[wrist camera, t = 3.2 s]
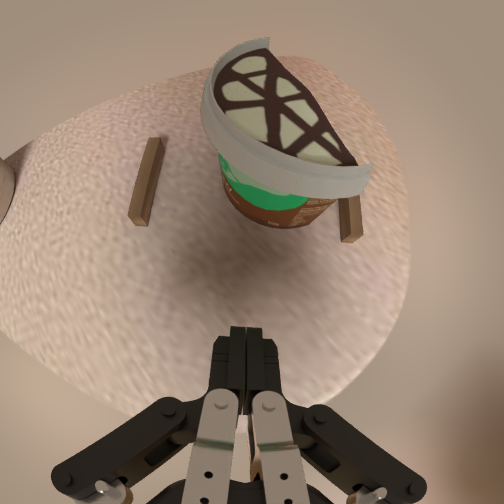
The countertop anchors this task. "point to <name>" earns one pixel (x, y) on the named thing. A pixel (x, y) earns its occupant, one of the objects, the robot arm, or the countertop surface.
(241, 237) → the countertop surface
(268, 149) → the food container
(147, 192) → the slot rails
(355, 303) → the countertop surface
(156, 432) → the robot arm
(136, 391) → the countertop surface
